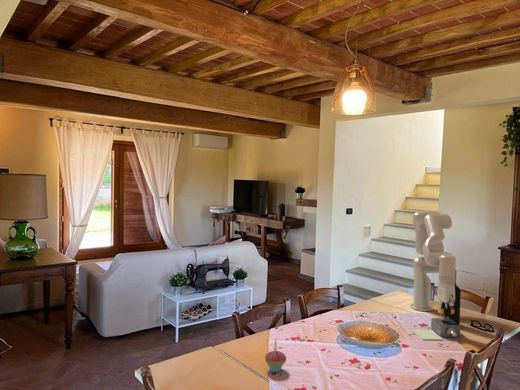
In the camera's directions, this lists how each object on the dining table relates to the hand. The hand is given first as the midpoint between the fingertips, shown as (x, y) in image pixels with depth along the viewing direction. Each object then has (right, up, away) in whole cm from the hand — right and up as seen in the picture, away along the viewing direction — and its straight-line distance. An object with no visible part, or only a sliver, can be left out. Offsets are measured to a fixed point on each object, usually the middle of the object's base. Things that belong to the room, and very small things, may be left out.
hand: (445, 314), depth 196 cm
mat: (-11, -10, -3) cm, 15 cm away
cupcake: (-89, -9, -41) cm, 98 cm away
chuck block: (0, -10, -2) cm, 10 cm away
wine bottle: (+10, -10, +14) cm, 19 cm away
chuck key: (0, -6, 0) cm, 6 cm away
